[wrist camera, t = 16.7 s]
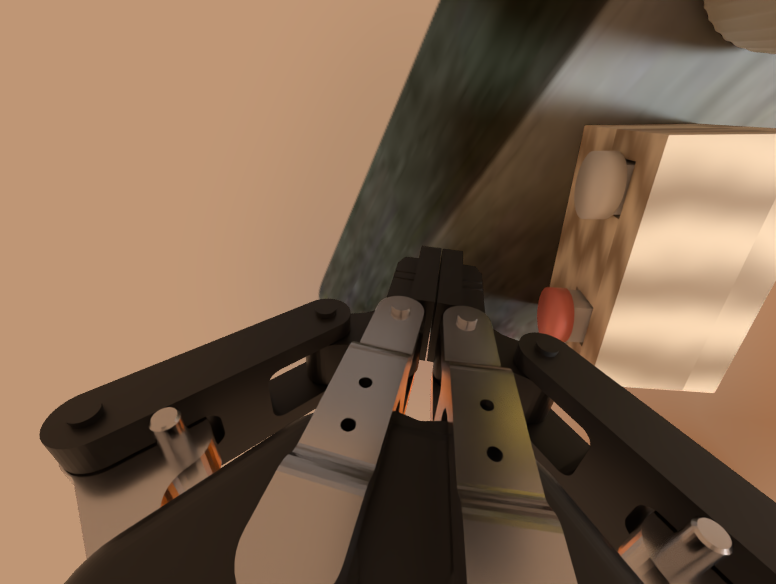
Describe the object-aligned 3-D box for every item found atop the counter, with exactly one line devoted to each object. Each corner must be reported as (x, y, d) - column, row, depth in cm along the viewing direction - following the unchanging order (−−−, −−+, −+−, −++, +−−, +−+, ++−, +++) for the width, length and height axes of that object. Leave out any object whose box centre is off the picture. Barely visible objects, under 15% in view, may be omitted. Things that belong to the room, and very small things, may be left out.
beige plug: (583, 147, 29) (610, 155, 25) (697, 146, 28) (747, 154, 24) (569, 210, 32) (592, 227, 27) (673, 211, 31) (715, 229, 26)
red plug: (543, 278, 35) (559, 303, 30) (636, 281, 34) (667, 308, 29) (534, 322, 37) (547, 352, 33) (621, 326, 36) (647, 358, 32)
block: (584, 125, 34) (668, 135, 22) (698, 123, 33) (855, 133, 20) (545, 305, 43) (588, 384, 31) (633, 309, 42) (714, 393, 30)
